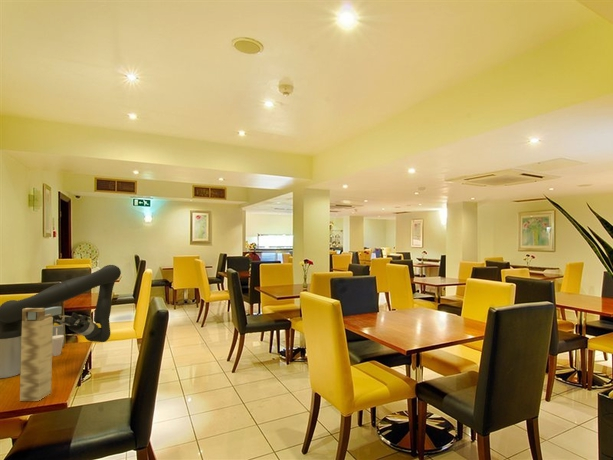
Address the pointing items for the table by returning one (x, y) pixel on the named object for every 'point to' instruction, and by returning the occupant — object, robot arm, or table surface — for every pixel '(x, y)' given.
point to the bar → (47, 311)
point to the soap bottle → (58, 330)
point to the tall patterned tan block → (36, 355)
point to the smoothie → (57, 344)
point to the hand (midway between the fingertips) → (62, 314)
